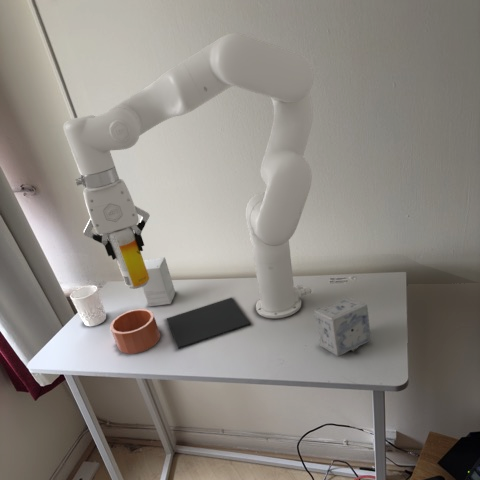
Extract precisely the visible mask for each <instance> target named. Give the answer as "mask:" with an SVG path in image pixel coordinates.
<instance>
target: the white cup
mask: <svg viewBox="0 0 480 480" xmlns="http://www.w3.org/2000/svg"><path fill="white" fill-rule="evenodd" d="M69 297H70V300H71V302H72V304H73V305H74V307H75V310H76V311H77V314H78V315H79V317H80V318H81V320H82V322H83V324H84V325H85V326H86V327H96V326H98V325H101V324H102V323H104V322H105V321H106V320H107V313H106V310H105V307H104V304H103V301H102V298H101V295H100V292H99V289H98V287H97V286H96V285H93V284H91V285H84V286H81V287H79V288H76V289H74V291H72V292H71V293H70V295H69Z"/></svg>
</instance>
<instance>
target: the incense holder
mask: <svg viewBox="0 0 480 480" xmlns="http://www.w3.org/2000/svg"><path fill="white" fill-rule="evenodd" d="M368 308H369V307H368V305H367V304H366V303H365V302H362V301H360V300H357V299H354V298H351V297H348V296H345V297H343V298H342V299H341V301H339V302H337V303H335V304H331V305H328V306H326V307H324V308H320V307H319V308H316V309H314V319H315V320H316V321H317V326H318V327H317V328H318V332H319V339H318V340H319V346H320V347H322V348H323V349H325V350H327V351H328V352H330V353H332V354H333V355H334V356H337V357H340V356H343V354H346V353H348V352H349V351H352V352H355V351H356V350H357V349H358V348H359V347H360V346H363V345H365V344H367V343H369V342H371V339H372V334H371V328H370V318H369V310H368Z"/></svg>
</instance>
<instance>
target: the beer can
mask: <svg viewBox="0 0 480 480" xmlns="http://www.w3.org/2000/svg"><path fill="white" fill-rule="evenodd" d="M134 233H135V232H134V230H133V229H132V228H131V227H128V228H124V229H121V230H118V231H114V232H111V233H108V238H107V239H108V240H109V242H110V244H111V247H112V250H113V252H114V255H115V258H116V259H115V260H116V263H117V267H118V268H119V271H120V274H121V276H122V279H123V283H124V284H125V286H126V287H127V288H129V289H132V290H135V289H140V288H142V287H143V286H145V285H146V284H147V283H148V280H149V275H148V273H147V270H146V267H145V264H144V261H143V260H144V258H143V255H142V251H140V249H139V246H138V243H137V240H136V237H135V234H134Z"/></svg>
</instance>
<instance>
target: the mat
mask: <svg viewBox="0 0 480 480" xmlns="http://www.w3.org/2000/svg"><path fill="white" fill-rule="evenodd" d="M166 321H167V324H168V326H169V329H170V331H171V334H172V336H173V339H174V342H175V343H176V346H177V349H179V350H180V349H183V348H186V347H189V346H192V345H195V344H197V343H200V342H201V343H202V342H204V341H206V340H209V339H212V338H216V337H218V336H221V335H224V334H227V333H231V332H232V331H236V330H239V329H242V328H245V327H247V326H250V325H251V322H250V321H249V319H248V318H247V316H245V314H244V313H243V311H242V310H241V309H240V307H239V306H238V304H237V303H236V302H235V300H234V299H233V298H232V297H229V298H226V299H223V300H220V301H217V302H214V303H211V304H207V305H204V306H201V307H199V308H194V309H192V310H189V311H185V312H182V313H179V314H176V315H173V316H170V317H167V318H166Z"/></svg>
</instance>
